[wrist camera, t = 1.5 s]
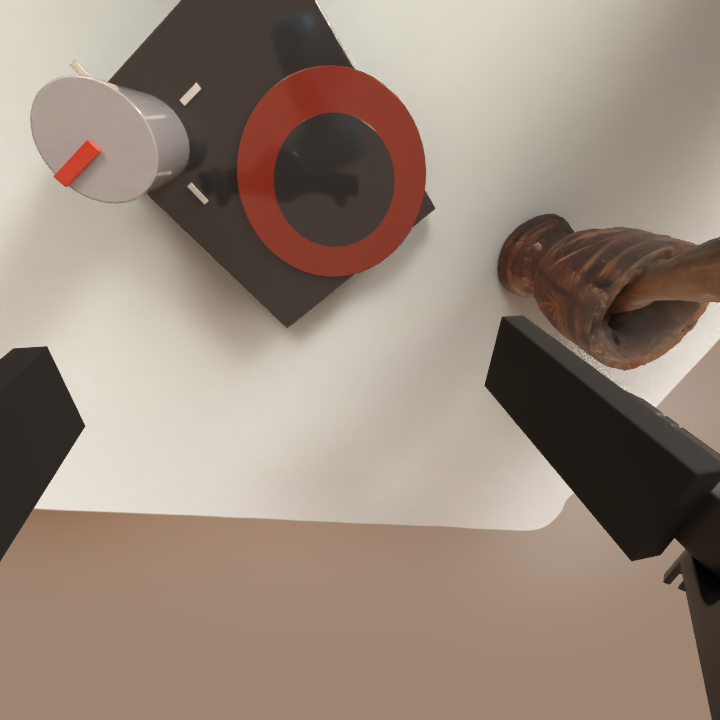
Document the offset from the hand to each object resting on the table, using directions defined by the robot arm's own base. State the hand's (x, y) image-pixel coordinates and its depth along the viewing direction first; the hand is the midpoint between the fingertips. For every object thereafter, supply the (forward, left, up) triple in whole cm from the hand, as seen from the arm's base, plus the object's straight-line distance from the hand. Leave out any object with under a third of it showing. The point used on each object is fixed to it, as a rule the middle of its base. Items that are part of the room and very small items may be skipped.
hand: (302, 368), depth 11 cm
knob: (+3, -9, -18) cm, 21 cm away
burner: (-5, 0, -18) cm, 19 cm away
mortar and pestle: (-15, +15, -21) cm, 30 cm away
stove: (-1, -4, -21) cm, 21 cm away
